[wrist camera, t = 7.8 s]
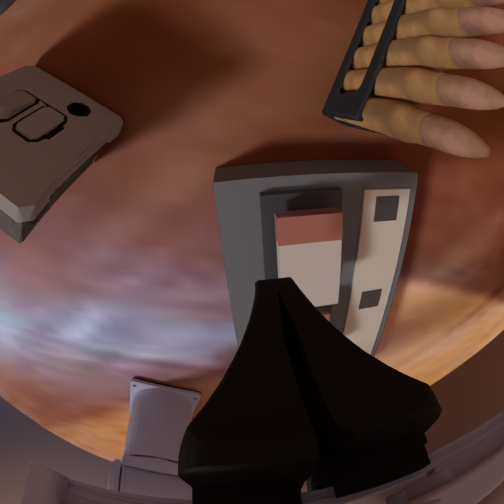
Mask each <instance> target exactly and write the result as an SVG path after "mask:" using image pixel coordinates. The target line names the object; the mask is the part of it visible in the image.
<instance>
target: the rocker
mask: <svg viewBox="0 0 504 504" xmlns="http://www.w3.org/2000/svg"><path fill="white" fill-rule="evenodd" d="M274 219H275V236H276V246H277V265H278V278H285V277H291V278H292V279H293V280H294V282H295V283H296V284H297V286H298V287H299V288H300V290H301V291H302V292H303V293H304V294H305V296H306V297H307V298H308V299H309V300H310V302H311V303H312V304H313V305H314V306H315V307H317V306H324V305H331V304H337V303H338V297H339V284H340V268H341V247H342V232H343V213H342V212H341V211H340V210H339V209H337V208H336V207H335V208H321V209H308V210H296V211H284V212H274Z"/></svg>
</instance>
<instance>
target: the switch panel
mask: <svg viewBox="0 0 504 504" xmlns="http://www.w3.org/2000/svg"><path fill="white" fill-rule="evenodd" d="M417 180H418V172H416V171H414V170H413V169H411V168H409V167H407V166H405V165H403V164H402V163H400V162H398V161H396V160H384V159H340V160H308V161H289V162H273V163H260V164H249V165H238V166H228V167H219V168H216V169H215V175H214V182H213V184H214V192H215V199H216V207H217V214H218V222H219V229H220V236H221V243H222V250H223V257H224V263H225V270H226V277H227V283H228V290H229V296H230V302H231V309H232V315H233V321H234V327H235V333H236V339H237V345H238V348H239V346H240V344H241V341H242V339H243V336H244V333H245V331H246V328H247V325H248V322H249V319H250V315H251V311H252V307H253V302H254V297H255V282H257V281H258V280H266V279H276V278H278V265H277V246H276V236H275V219H274V212H284V211H296V210H308V209H321V208H335V207H336V208H337V209H339V210H340V211H341V212H342V213H343V232H342V247H341V268H340V284H339V297H338V303H337V304H331V305H324V306H317V307H316V308H322V307H326V309H327V310H328V312H329V314H330V323H331V324H332V325H333V326H335V327H336V328H337V329H338V330H339V331H340V332H341V333H342V334H343V335H345V336H346V337H347V338H348V339H350V340H351V341H352V342H353V343H355V344H356V345H357V346H359V347H360V348H361V349H363V350H364V351H365V352H367V353H369V354H370V355H372V356H373V357H374V355H375V352H376V350H377V347H378V344H379V341H380V338H381V335H382V332H383V329H384V326H385V323H386V320H387V317H388V314H389V311H390V307H391V304H392V301H393V297H394V294H395V290H396V286H397V283H398V279H399V275H400V271H401V267H402V263H403V258H404V254H405V250H406V245H407V240H408V235H409V230H410V225H411V220H412V214H413V208H414V202H415V195H416V188H417Z"/></svg>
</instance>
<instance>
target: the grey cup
mask: <svg viewBox="0 0 504 504" xmlns="http://www.w3.org/2000/svg"><path fill="white" fill-rule="evenodd" d="M14 1H15V0H0V15H1V14H2V13H3V12H4V11H6V10H7V8H8V7H9V6H10V5H11V4H12V3H13V2H14Z"/></svg>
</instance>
